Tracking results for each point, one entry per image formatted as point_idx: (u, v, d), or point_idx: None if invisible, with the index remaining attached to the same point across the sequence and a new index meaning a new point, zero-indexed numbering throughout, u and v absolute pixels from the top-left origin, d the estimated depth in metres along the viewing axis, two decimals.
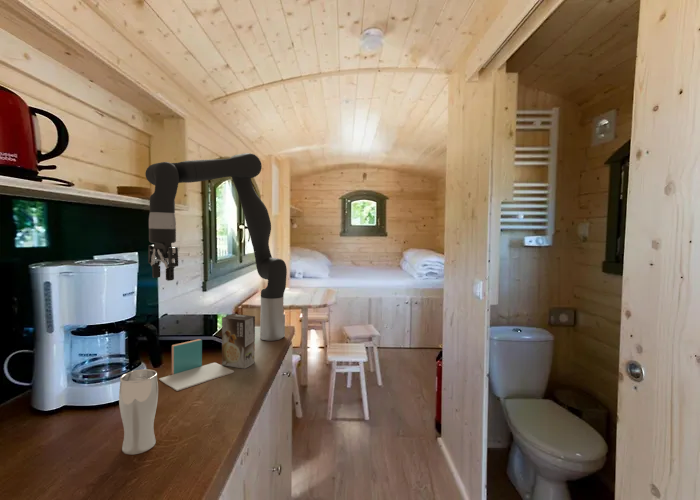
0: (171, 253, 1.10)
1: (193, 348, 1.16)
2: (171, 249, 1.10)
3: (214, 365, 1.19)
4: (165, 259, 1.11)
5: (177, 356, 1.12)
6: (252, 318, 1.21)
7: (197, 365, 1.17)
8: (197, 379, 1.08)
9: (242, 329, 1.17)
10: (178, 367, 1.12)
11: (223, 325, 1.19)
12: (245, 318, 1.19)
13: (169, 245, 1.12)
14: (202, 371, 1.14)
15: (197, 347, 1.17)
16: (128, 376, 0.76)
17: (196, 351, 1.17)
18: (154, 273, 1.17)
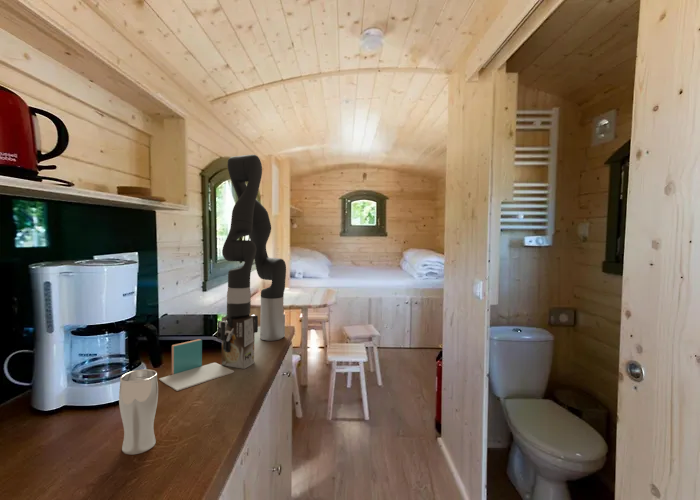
0: None
1: (193, 348, 1.16)
2: None
3: (214, 365, 1.19)
4: None
5: (177, 356, 1.12)
6: (252, 318, 1.21)
7: (197, 365, 1.17)
8: (197, 379, 1.08)
9: (241, 329, 1.17)
10: (178, 367, 1.12)
11: None
12: (244, 318, 1.19)
13: None
14: (202, 371, 1.14)
15: (197, 347, 1.17)
16: (128, 376, 0.76)
17: (196, 351, 1.17)
18: None
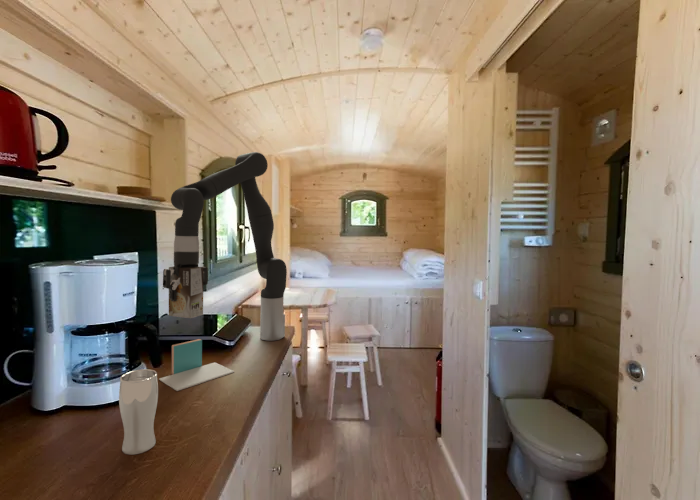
0: None
1: (193, 348, 1.16)
2: None
3: (214, 365, 1.19)
4: None
5: (177, 356, 1.12)
6: (200, 268, 1.19)
7: (197, 365, 1.17)
8: (197, 379, 1.08)
9: (188, 278, 1.15)
10: (178, 367, 1.12)
11: None
12: (192, 267, 1.17)
13: None
14: (202, 371, 1.14)
15: (197, 347, 1.17)
16: (128, 376, 0.76)
17: (196, 351, 1.17)
18: None
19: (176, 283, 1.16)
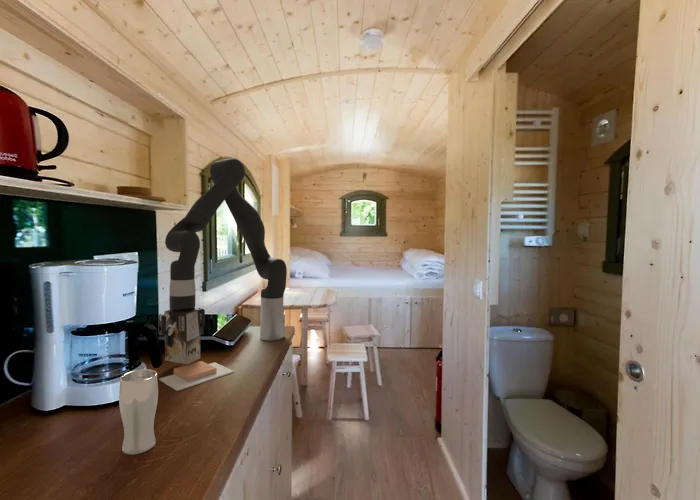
0: None
1: None
2: None
3: (214, 365, 1.19)
4: None
5: None
6: (196, 312, 1.16)
7: None
8: (197, 379, 1.08)
9: (184, 323, 1.12)
10: None
11: None
12: (188, 312, 1.14)
13: None
14: None
15: None
16: (128, 376, 0.76)
17: None
18: None
19: (172, 328, 1.13)
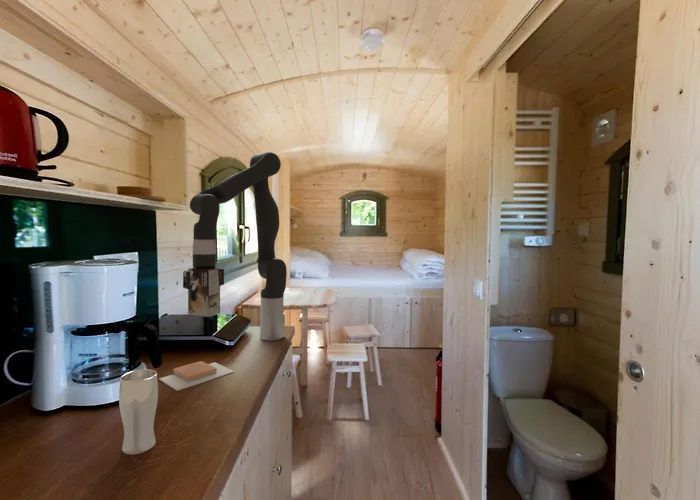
0: None
1: None
2: None
3: (214, 365, 1.19)
4: None
5: None
6: (217, 270, 1.26)
7: None
8: (197, 379, 1.08)
9: (206, 279, 1.22)
10: None
11: None
12: (209, 269, 1.24)
13: None
14: None
15: None
16: (128, 376, 0.76)
17: None
18: None
19: (195, 284, 1.23)
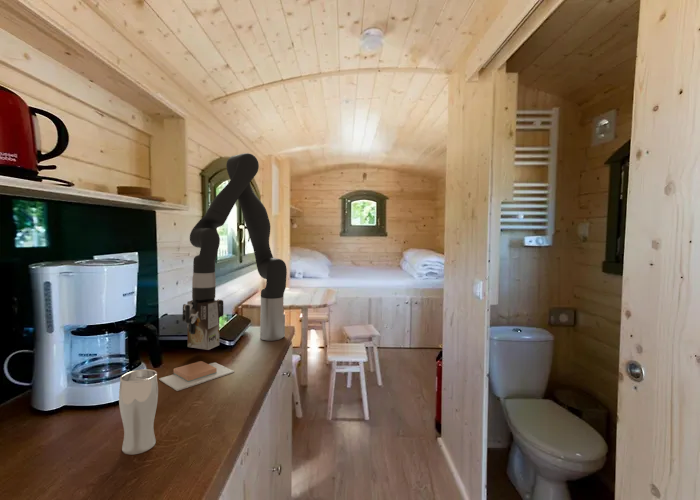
0: None
1: None
2: None
3: (214, 365, 1.19)
4: None
5: None
6: (216, 302, 1.27)
7: None
8: (197, 379, 1.08)
9: (205, 312, 1.23)
10: None
11: None
12: (209, 302, 1.25)
13: None
14: None
15: None
16: (128, 376, 0.76)
17: None
18: None
19: (195, 317, 1.23)
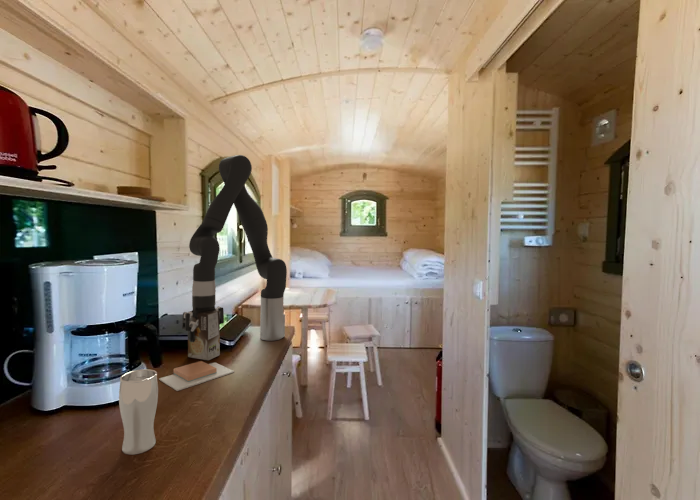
0: None
1: None
2: None
3: (214, 365, 1.19)
4: None
5: None
6: (216, 312, 1.27)
7: None
8: (197, 379, 1.08)
9: (205, 323, 1.23)
10: None
11: None
12: (209, 312, 1.25)
13: None
14: None
15: None
16: (128, 376, 0.76)
17: None
18: None
19: (194, 325, 1.24)
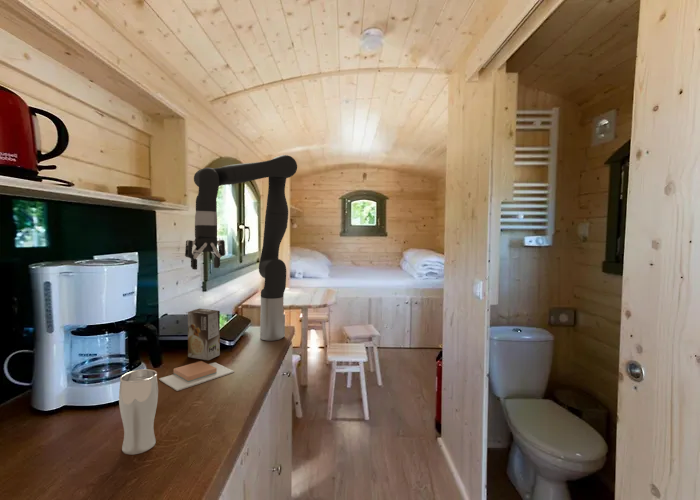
0: None
1: None
2: None
3: (214, 365, 1.19)
4: None
5: None
6: (216, 312, 1.27)
7: None
8: (197, 379, 1.08)
9: (205, 323, 1.23)
10: None
11: (189, 319, 1.26)
12: (209, 312, 1.25)
13: None
14: None
15: None
16: (128, 376, 0.76)
17: None
18: None
19: (197, 253, 1.29)
